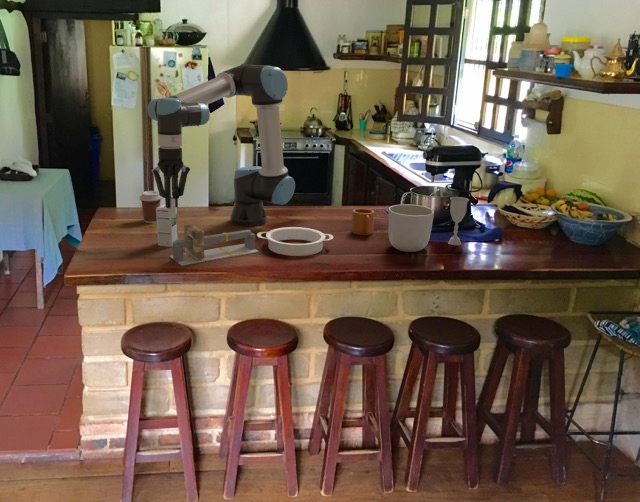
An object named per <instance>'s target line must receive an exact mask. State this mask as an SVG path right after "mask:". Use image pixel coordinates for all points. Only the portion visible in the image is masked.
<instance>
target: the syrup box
mask: <svg viewBox="0 0 640 502" xmlns="http://www.w3.org/2000/svg"><path fill="white" fill-rule="evenodd" d="M175 209H176V218H170V217H168V208H166V204H161V205H160V207H158V208H156V218H157V223H156V230H157V231H156V232H157V234H156V235H157V245H158V246H160V247H167V248H173V243H177V240H179V227H178V226H179V224H178V210H177V209H178V207H176V208H175Z"/></svg>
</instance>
